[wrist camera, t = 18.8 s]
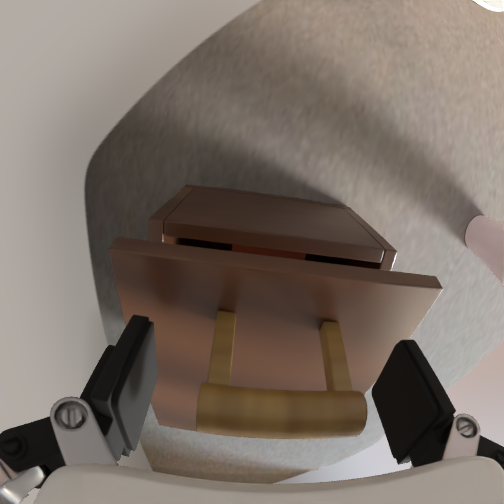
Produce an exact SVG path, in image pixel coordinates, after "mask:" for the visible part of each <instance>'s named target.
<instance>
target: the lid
mask: <svg viewBox="0 0 504 504" xmlns="http://www.w3.org/2000/svg"><path fill="white" fill-rule="evenodd" d="M109 253H110V259H111V264H112V269H113V274H114V278H115V283H116V288H117V292H118V296H119V301H120V305H121V309H122V313H123V317H124V320H125V324H126V326H127V324H128V322H129V321H130V319H131V317H132V316H133V315H134V314H135V315H140V316H146V317H149V321H151V322H154V332H155V345H156V356H157V367H158V378H157V382H156V385H155V389H154V392H153V395H152V398H151V401H150V402H151V405H152V407H153V410H154V413H155V415H156V418H157V420H158V423H159V425H163V426H168V427H173V428H179V429H185V430H191V431H197V432H201V433H208V434H216V435H225V436H236V437H249V438H266V439H327V438H345V437H356V436H358V435H360V434H361V433H362V431H363V430H364V427H365V425H366V420H367V403H366V399H365V397H364V394H365V393H366V392H367V391H368V390H369V389H370V388H371V387H372V385H373V384H374V383H375V382H376V381H377V379H378V377H379V375H380V373H381V372H382V370H383V368H384V366H385V364H386V362H387V360H388V358H389V356H390V354H391V352H392V350H393V348H394V346H395V345H396V344H397V343H399V341H400V340H409V339H410V337H411V336H412V335H413V333H414V332H415V331H416V329H417V328H418V326H419V325H420V323H421V322H422V320H423V319H424V318H425V316H426V315H427V313H428V312H429V310H430V308H431V307H432V305H433V304H434V302H435V301H436V299H437V298H438V296H439V294H440V293H441V291H442V289H443V288H442V286H441V284H440V283H439V281H438V279H437V277H435V276H428V275H420V274H412V273H403V272H395V271H387V270H379V269H370V268H362V267H354V266H346V265H338V264H329V263H321V262H313V261H305V260H297V259H289V258H281V257H273V256H264V255H256V254H248V253H240V252H232V251H224V250H216V249H208V248H200V247H192V246H184V245H176V244H168V243H160V242H152V241H144V240H136V239H128V238H120V237H117V238H116V239H115V241H114V242H113V244H112V245H111V247H110V248H109Z"/></svg>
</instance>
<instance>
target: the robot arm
mask: <svg viewBox="0 0 504 504" xmlns="http://www.w3.org/2000/svg"><path fill="white" fill-rule="evenodd" d="M473 1H474V2H476V3H477V4H479V5H481V6H483V7H484V8H486V9H489V10H492V11H497V12H500V11H504V0H473ZM157 378H158V367H157V356H156V345H155V332H154V322H151V321H149V317H146V316H140V315H135V314H134V315H133V316H132V317H131V319H130V321H129V322H128V324H127V326H126V328H125V329H124V331H123V333H122V335H121V337H120V339H119V340H118V342H117V344H116V346H113V345H109V346H108V347H107V348H106V349H105V351H104V353H103V355H102V357H101V358H100V360H99V362H98V364H97V366H96V367H95V369H94V371H93V373H92V375H91V377H90V379H89V381H88V383H87V384H86V387H85V388H84V390H83V392H82V394H81V396H80V398H78V397H65V398H62V399H60V400H58V401H57V402H56V403H55V404H54V405H53V406H52V408H51V411H50V417H47V418H44V419H41V420H38V421H34V422H31V423H28V424H24V425H21V426H18V427H14V428H10V429H8V430H5V431H3V432H2V433H1V434H0V504H20V502H21V501H22V500H23V499H24V498H25V497H27V496H28V492H29V491H31V490H32V489H33V488H38V489H39V488H41V489H40V491H39V493H38V495H37V497H36V499H35V501H34V504H504V447H503V446H501V445H499V444H497V443H494V442H492V441H491V440H489V439H487V438H485V437H482V436H481V435H480V426H479V424H478V422H477V421H476V420H475V419H474V418H473V417H472V416H470V415H468V414H459V415H457V416H456V417H454V415H453V414H454V413H455V411H456V410H455V408H454V407H453V405H452V403H451V401H450V399H449V397H448V395H447V394H446V392H445V390H444V388H443V387H442V385H441V383H440V381H439V380H438V378H437V376H436V374H435V373H434V371H433V369H432V368H431V366H430V364H429V363H428V361H427V359H426V358H425V356H424V354H423V353H422V351H421V350H420V348H419V346H418V345H417V343H416V342H415V341H414V340H400V341H399V343H397V344H396V345H395V346H394V348H393V350H392V352H391V354H390V356H389V358H388V360H387V362H386V364H385V366H384V368H383V370H382V372H381V373H380V375H379V377H378V379H377V381H376V382H375V384H374V386H373V388H372V397H373V400H374V403H375V405H376V408H377V411H378V414H379V417H380V420H381V422H382V425H383V428H384V431H385V434H386V437H387V440H388V443H389V446H390V449H391V452H392V455H393V457H394V458H396V460H397V463H398V464H403V463H408V462H410V461H411V462H412V466H411V468H410V469H406V470H402V471H397V472H393V473H388V474H382V475H377V476H371V477H365V478H357V479H351V480H343V481H342V480H341V481H332V482H319V483H303V484H252V483H235V482H222V481H213V480H204V479H196V478H189V477H182V476H175V475H169V474H164V473H158V472H153V471H148V470H142V469H137V468H132V467H125V466H119V465H118V463H117V462H116V461H119V460H120V458H121V455H124V456H128V457H129V454H130V451H131V450H133V451H135V450H136V447H137V444H138V441H139V437H140V434H141V431H142V427H143V424H144V421H145V417H146V414H147V411H148V408H149V404H150V401H151V398H152V395H153V392H154V389H155V385H156V382H157Z"/></svg>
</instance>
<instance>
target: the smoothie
mask: <svg viewBox="0 0 504 504" xmlns="http://www.w3.org/2000/svg"><path fill="white" fill-rule="evenodd" d="M465 242H466V245H467V247H468V248H469V249H470V250H471V251H472V252H473V253H474V254H475V255H476V256H477V257H478V258H479V259H480V261H481V262H482V263H483V264H484V265H485V266H486V267H487V268H488V269H489V270H490V271H491V272H492V273H493V275H494V276H495V277H496V278H497V279H498V280H499V281H500V282H501V284H502V285H503V286H504V222H501V221H498V220H495V219H492V218H489V217H486V216H482V215H479V216H476V217H475V218H473V219H472V220H471V222H470V223H469V225H468V227H467V229H466V233H465Z"/></svg>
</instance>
